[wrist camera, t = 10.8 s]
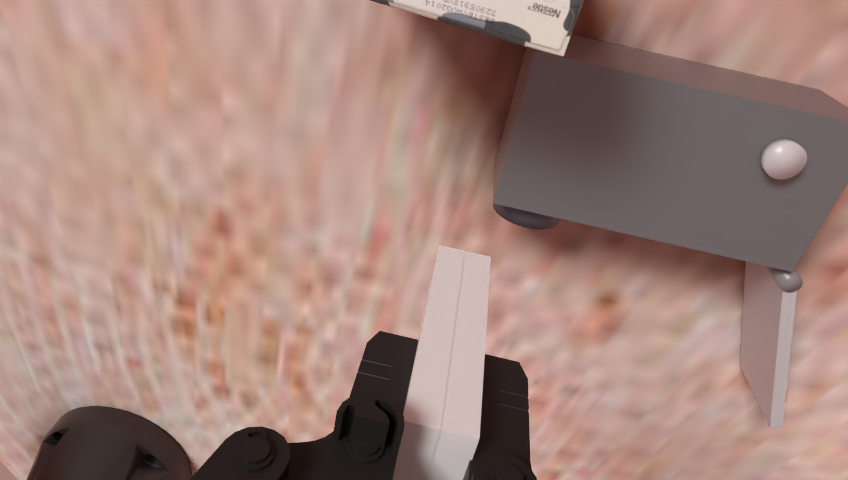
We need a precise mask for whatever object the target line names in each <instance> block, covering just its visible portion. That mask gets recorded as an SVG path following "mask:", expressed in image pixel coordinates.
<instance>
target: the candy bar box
mask: <svg viewBox="0 0 848 480" xmlns="http://www.w3.org/2000/svg"><path fill="white" fill-rule="evenodd" d="M371 1H374V2H377V3H381V4H385V5H388V6H390V7H394V8H398V9H401V10H404V11H408V12H411V13H414V14H418V15H421V16H424V17H428V18H431V19H435V20H438V21H442V22H445V23H448V24H451V25H454V26H457V27H461V28H465V29H468V30H471V31H475V32H478V33H481V34H485V35H488V36H491V37H495V38H499V39H502V40H505V41H508V42H512V43H515V44H519V45H522V46H526V47H530V48H533V49H537V50H540V51H544V52H547V53H551V54H555V55H559V56H564V54H565V51H566V48H567V45H568V43H569V40H570V36H571V34H572V31H573V28H574V25H575V23H576V20H577V17H578V15H579V12H580V9H581V7H582V4H583V2H584V0H371Z"/></svg>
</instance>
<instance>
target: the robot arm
mask: <svg viewBox="0 0 848 480" xmlns="http://www.w3.org/2000/svg"><path fill="white" fill-rule="evenodd" d="M490 262H491V257H488V256H484V255H480V254H475V253H471V252H467V251H462V250H458V249H454V248H449V247H445V246H441V245H439V249H438V253H437V258H436V262H435V266H434V270H433V274H432V279H431V283H430V287H429V291H428V295H427V299H426V304H425V308H424V312H423V316H422V321H421V325H420V330H419V335H418V339H417V340H416V339H412V338H408V337H403V336H399V335H395V334H391V333H386V332H382V331H379V332H378V333H377V334H376V335H375V336H374V337H373V338H372V339H371V340H370V341H368V342H367V345H366V348H365V351H364V354H363V357H362V361H361V363H360V366H359V370H358V373H357V376H356V379H355V382H354V385H353V388H352V391H351V394H350V397H349V399H347V400H345V401H344V402H343V403H342V404H341V406H340V407H339V409H338V411H337V414H336V421H335V427H334V431H333V432H332V433H331V434H329V435H328V436H326V437H324V438H321V439H319V440H316V441H310V442H299V443H287V441H286V440H285V438H284V437H283V436H282V435H280V434H279V433H278V432H276V431H275V430H272V429H269V428H265V427H248V428H245V429H242V430H240V431H237V432H235V433H234V434H232V435H231V436H230V437H228V438H227V439H226V440H225V441H224V442H223V443H222V444H221V445H220V446H219V447H218V449H217V450H216V451H215V452H214V453H213V454H212V455H211V457H210V458H209V459H208V460H207V461H206V462H205V463H204V464H203V466H202V467H201V468H200V469H199V470H198V471H197V472H196V473H195V475H194V476H193V477H192V478H191V468H190V464H189V462H188V459H187V457H186V455H185V454H184V452H183V451H182V449H181V448H180V447H179V445H178V444H177V443H176V442H175V441H174V440H173V439H172V438H171V437H170V436H169V435H168V434H166V433H165V432H164V431H163V430H161V429H160V428H158V427H157V426H155V425H154V424H152V423H151V422H149V421H147V420H145V419H143V418H141V417H139V416H136V415H134V414H131V413H129V412H126V411H123V410H119V409H114V408H109V407H101V406H89V407H81V408H77V409H74V410H72V411H69V412H68V413H66V414H64V415H63V416H62V417H61V418H60V419H59V420H58V422H57V423H56V424H55V425H54V426H53V427H52V428H51V430H50V431H49V432H48V433H47V435H46V436H45V438H44V439H43V441H42V444H41V446H40V449H39V451H38V454H37V456H36V458H35V461H34V463H33V466H32V468H31V471H30V473H29V476H28V478H27V480H537V478H536V476H535V475H534V473H533V472H532V469H531V463H530V438H529V412H528V409H529V405H528V378H527V377H526V375H525V373H524V371H523V369H522V367H521V365H520V363H519V362H516V361H512V360H508V359H503V358H499V357H495V356H490V355H486V354H485V343H486V327H487V311H488V294H489V278H490Z"/></svg>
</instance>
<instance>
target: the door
mask: <svg viewBox="0 0 848 480" xmlns="http://www.w3.org/2000/svg"><path fill="white" fill-rule="evenodd" d="M801 286H802V279H801V278H800V277H799V275H798V274H797V273H796V271H795V270H793V271H792V272H790V271H786V270H781V269H777V268H772V267H768V266H764V265H759V264H755V263H751V262H746V263H745V281H744V299H743V317H742V335H741V353H740V367H741V369H742V371H743V373H744V375H745V378H746V380H747V382H748V384H749V386H750V388H751V390H752V392H753V394H754V396H755V398H756V400H757V402H758V405H759V407H760V409H761V411H762V413H763V415H764V417H765V419H766V421H767V423H768V425H769V427H770V428H783V418H784V409H785V402H786V398H787V381H788V372H789V362H790V353H791V343H792V334H793V325H794V315H795V306H796V297H797V290H798V289H800V287H801Z"/></svg>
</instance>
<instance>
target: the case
mask: <svg viewBox="0 0 848 480" xmlns="http://www.w3.org/2000/svg"><path fill="white" fill-rule="evenodd" d="M847 183H848V107H846V106H844V105H843V104H841V103H840V102H838V101H837V100H835V99H833V98H832V97H830V96H829V95H827V94H825V93H824V92H822V91H821V90H817V89H813V88H808V87H804V86H800V85H795V84H791V83H786V82H782V81H777V80H773V79H768V78H764V77H759V76H755V75H751V74H746V73H742V72H737V71H733V70H728V69H724V68H719V67H715V66H711V65H706V64H702V63H697V62H693V61H688V60H684V59H679V58H675V57H670V56H666V55H662V54H657V53H653V52H648V51H644V50H639V49H635V48H630V47H626V46H622V45H617V44H613V43H608V42H604V41H599V40H595V39H590V38H586V37H581V36H577V35H573V34H571V36H570V40H569V43H568V45H567V48H566V51H565V54H564V56H559V55H555V54H551V53H547V52H544V51H540V50H537V49H533V48H530V47H526V49H525V53H524V57H523V60H522V64H521V68H520V71H519V75H518V79H517V82H516V86H515V90H514V93H513V97H512V101H511V104H510V108H509V112H508V115H507V119H506V123H505V126H504V130H503V134H502V137H501V141H500V145H499V148H498V152H497V156H496V163H495V178H494V194H493V208H494V209H495V211H496V212H497V213H498V214H499V215H500V216H501V217H503V218H504V219H506V220H508V221H509V222H512V223H514V224H516V225H519V226H522V227H526V228H531V229H549V228H552V227H554V226H556V225H557V224H558V222H559V219H563V220H568V221H572V222H577V223H581V224H585V225H590V226H594V227H598V228H603V229H607V230H611V231H616V232H620V233H624V234H629V235H633V236H637V237H642V238H646V239H651V240H655V241H659V242H664V243H668V244H672V245H677V246H681V247H685V248H690V249H694V250H698V251H703V252H707V253H711V254H716V255H720V256H725V257H729V258H733V259H738V260H742V261H746V262H751V263H755V264H759V265H764V266H768V267H772V268H777V269H781V270H786V271H790V272H792V271H793V270H794V268H795V266H796V265H797V263H798V262H799V260H800V258H801V257H802V255H803V254H804V252H805V250H806V249H807V247H808V246H809V244H810V242H811V241H812V239H813V238H814V236H815V234H816V233H817V231H818V230H819V228H820V226H821V225H822V223H823V222H824V220H825V218H826V217H827V215H828V214H829V212H830V210H831V209H832V207H833V206H834V204H835V202H836V201H837V199H838V198H839V196H840V194H841V193H842V191H843V190H844V188H845V186H846V185H847Z"/></svg>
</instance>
